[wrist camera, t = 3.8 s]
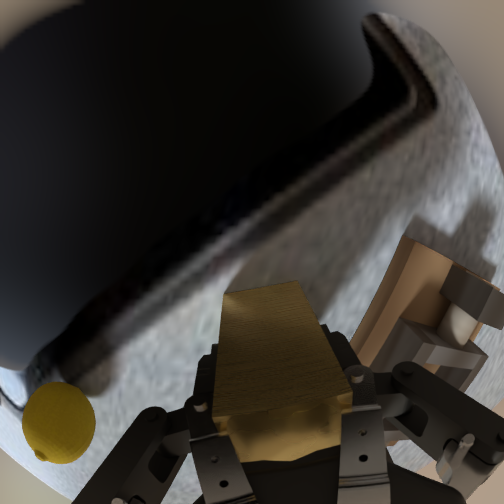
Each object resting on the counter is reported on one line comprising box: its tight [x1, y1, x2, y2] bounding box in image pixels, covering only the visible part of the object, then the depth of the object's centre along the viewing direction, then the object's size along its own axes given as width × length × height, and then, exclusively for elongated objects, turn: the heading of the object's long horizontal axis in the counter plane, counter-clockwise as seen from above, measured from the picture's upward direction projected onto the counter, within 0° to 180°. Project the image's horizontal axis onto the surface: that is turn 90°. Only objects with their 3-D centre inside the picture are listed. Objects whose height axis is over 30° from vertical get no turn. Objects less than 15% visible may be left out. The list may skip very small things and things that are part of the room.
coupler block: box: [212, 281, 353, 462], centre depth 12 cm, size 4×4×9 cm
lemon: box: [22, 382, 96, 464], centre depth 14 cm, size 6×6×8 cm
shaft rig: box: [350, 235, 504, 463], centre depth 16 cm, size 11×17×6 cm, turn 160°
